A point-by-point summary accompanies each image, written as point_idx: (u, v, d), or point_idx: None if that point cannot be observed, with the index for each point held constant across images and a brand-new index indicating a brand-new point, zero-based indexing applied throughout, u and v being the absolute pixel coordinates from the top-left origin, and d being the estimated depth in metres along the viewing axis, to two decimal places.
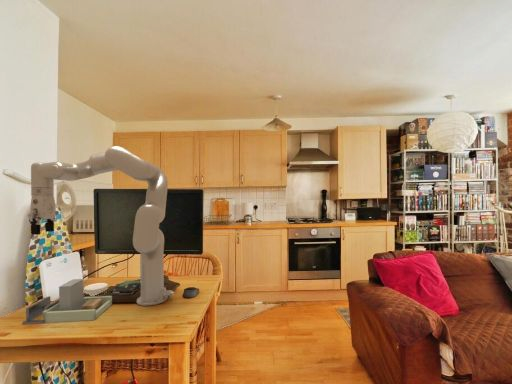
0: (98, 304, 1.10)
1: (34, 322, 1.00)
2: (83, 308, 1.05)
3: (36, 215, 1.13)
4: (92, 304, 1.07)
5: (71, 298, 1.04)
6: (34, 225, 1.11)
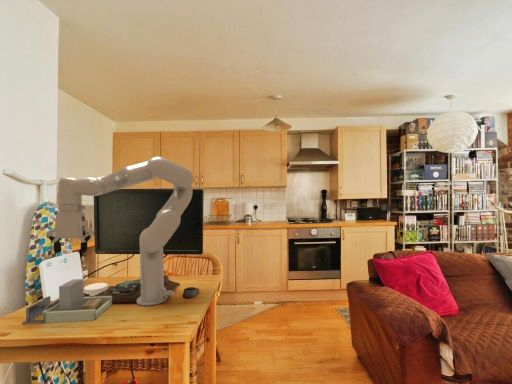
0: (98, 304, 1.10)
1: (34, 322, 1.00)
2: (83, 308, 1.05)
3: None
4: (92, 304, 1.07)
5: (71, 298, 1.04)
6: (86, 242, 1.09)
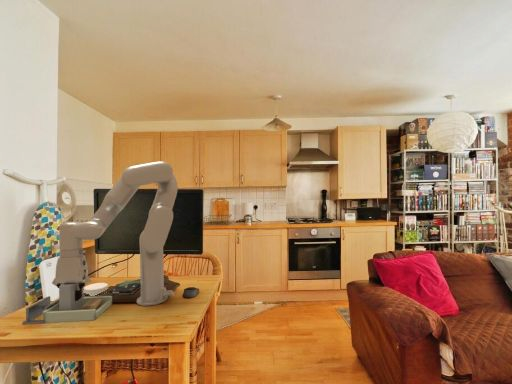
0: (98, 304, 1.10)
1: (34, 322, 1.00)
2: (84, 308, 1.05)
3: None
4: (93, 304, 1.07)
5: (71, 298, 1.04)
6: (81, 289, 1.09)
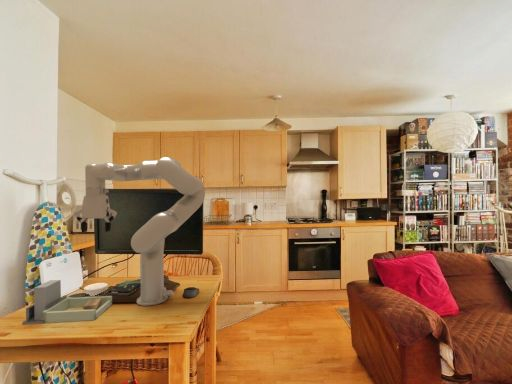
0: (99, 304, 1.10)
1: (34, 322, 1.00)
2: (85, 308, 1.05)
3: None
4: (94, 304, 1.07)
5: (46, 299, 1.04)
6: (110, 222, 1.21)
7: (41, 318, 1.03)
